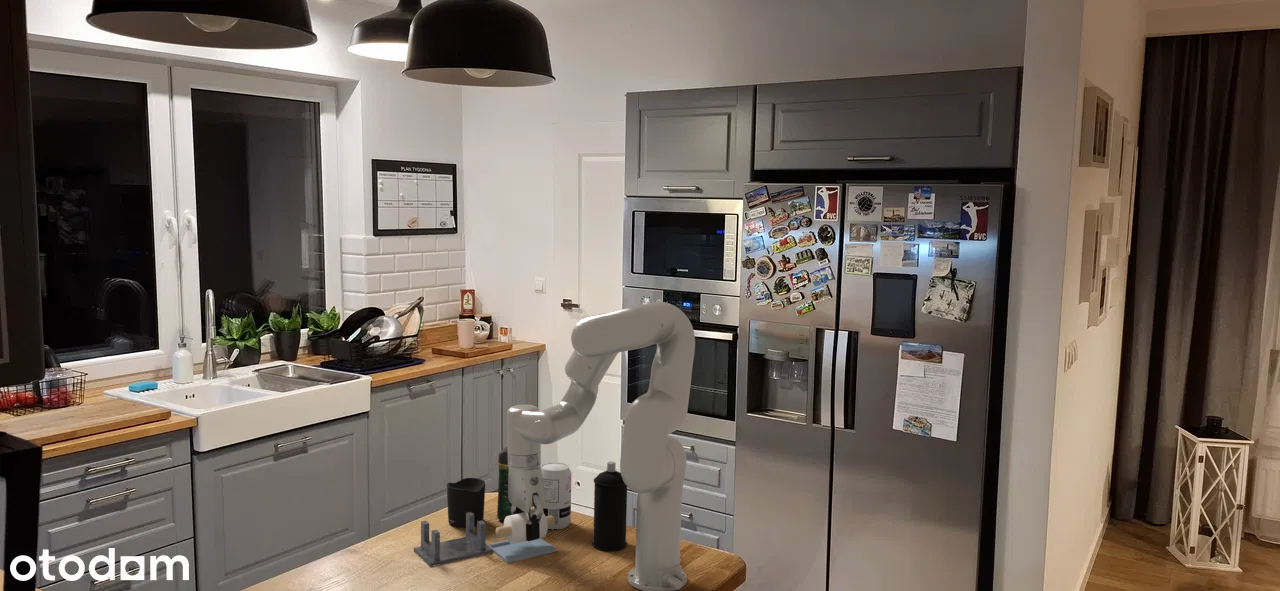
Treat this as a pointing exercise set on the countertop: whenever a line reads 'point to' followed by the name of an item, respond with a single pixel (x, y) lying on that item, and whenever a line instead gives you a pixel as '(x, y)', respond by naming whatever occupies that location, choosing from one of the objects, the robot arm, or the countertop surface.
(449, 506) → the pen holder
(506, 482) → the coffee jar
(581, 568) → the countertop surface
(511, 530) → the paper roll
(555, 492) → the supplement can
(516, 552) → the rest
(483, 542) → the holder
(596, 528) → the aerosol can
